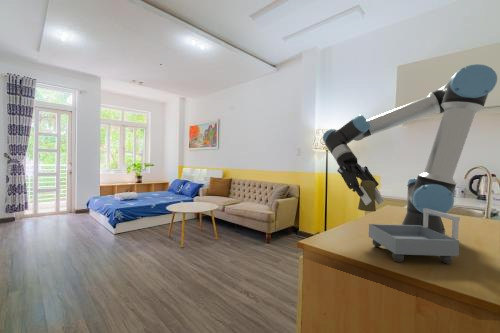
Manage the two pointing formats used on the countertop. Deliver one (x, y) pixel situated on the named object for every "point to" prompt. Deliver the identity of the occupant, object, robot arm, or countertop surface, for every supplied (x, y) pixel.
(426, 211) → the cart
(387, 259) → the countertop surface
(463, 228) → the countertop surface
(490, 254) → the countertop surface
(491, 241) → the countertop surface
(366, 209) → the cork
